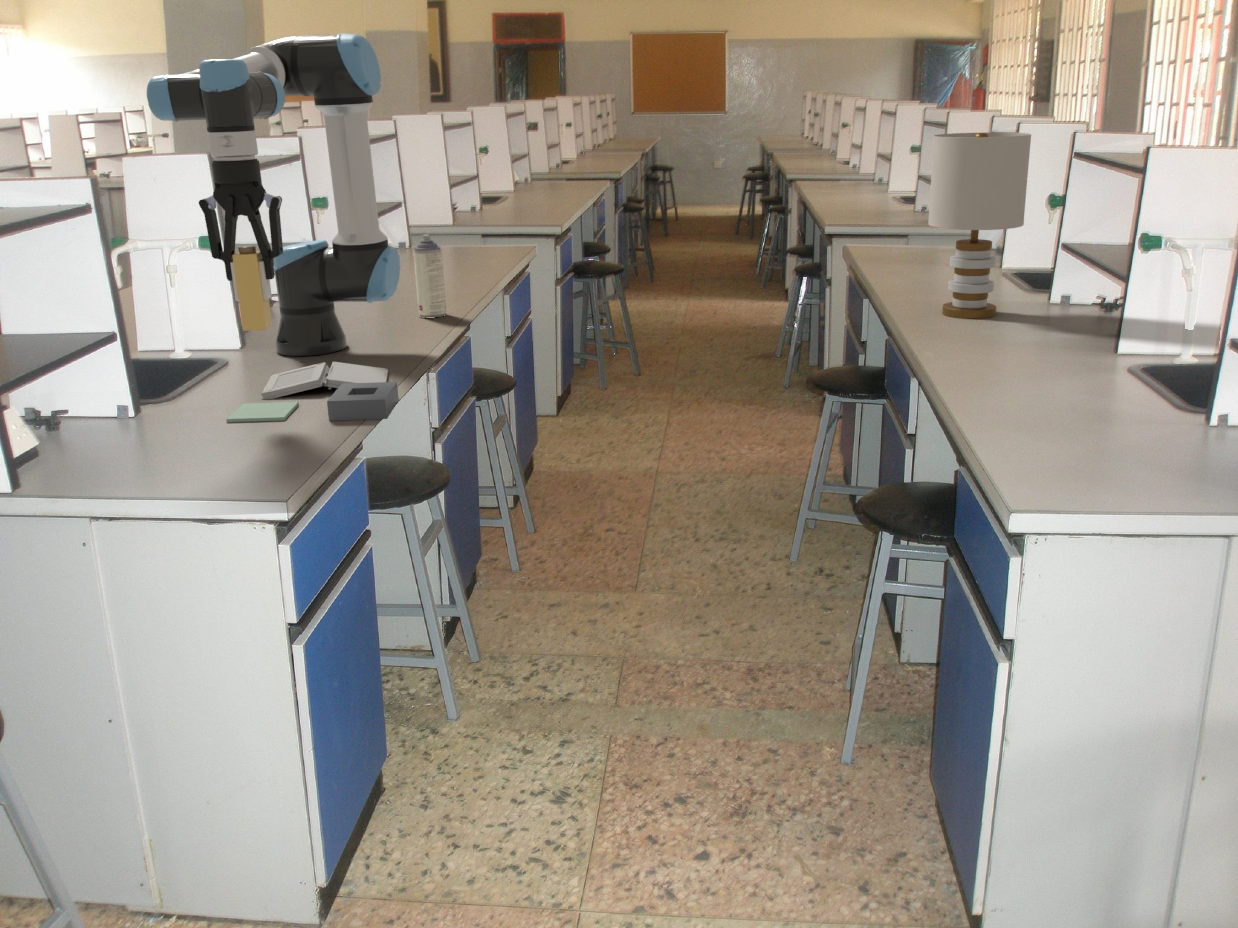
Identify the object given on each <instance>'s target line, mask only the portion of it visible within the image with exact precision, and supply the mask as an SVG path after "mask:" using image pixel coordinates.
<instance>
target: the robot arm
mask: <svg viewBox="0 0 1238 928" xmlns="http://www.w3.org/2000/svg"><path fill="white" fill-rule="evenodd" d="M381 77H382V75H381V69H380V64H379V61H378V58H377V55H376V52H375V50H374V48H373V47H372V45H371V43H370V41H369V40H368V39H367V38H366V37H364V36H363V35H361V34H355V33H343V32H341V33H334V34H329V33H328V34H314V35H312V34H311V35H310V34H309V35H289V36H285V37H282V38H281V37H280V38H278V39H277V38H276V39H274V40H271V41H268V42H265V43H262V44H259V45H257V46H253V47H250V48H248V49H246V50H245V51H244V52H243V54H241V56H239V57H235V58H232V59H231V58H230V59H228V58H226V59H224V58H223V59H222V58H221V59H203V60H202V61H200V63H199V66H198V69H195V70H192V71H188V72H184V73H180V74H169V73H167V74H165V75H155V76H153V77H152V78H150V80H149V82H148V83H147V86H146V99H147V104H148V108H149V110H150V112H151V114H153V116H154V117H155V118H156V119H158V120H160V121H165V122H167V121H171V122H172V121H174V122H179V121H203V120H204V121H205V122H206V123H205V124H206V130H207V131H206V133H207V139H208V146H209V153H210V156H211V158H214V160H212V162H211V168H212V175H213V183H214V190H213V193H212V195H211V196H209V197H207V198H205V197H204V198H203V199H200V200H198V205H199V207H200V209H201V211H202V213H203V215H204V219H205V226H206V230H207V236H208V242H209V246H210V247H209V249H210V253H211V257H212V259H217V260H220V261H222V262H223V263H224V267H225V269H224V270H225V275H226V279H227V281H231V282H232V285H233V291H234V292H233V293H234V298H235V302H239V299H238V292H237V285H236V277H235V270H234V263H233V256H232V255H233V254H235V253H236V252H235V251H236V240H237V222H238V219H239V217H240V216H244V217H247V220H248V222H249V223H250V226H251V229H252V232H253V234H254V237H255V240H256V243H257V246H258V249H259V250H258V251H260V253H261V256H262V260H261V261H259V269H260V277H261V284H262V292H263V299H264V300H268V299H269V300H270V299H271V298H273V296H272V287H271V281H270V280H273V279H274V278H275V284H276V290H277V291H276V292H277V299H278V306H279V313H280V314H279V315H280V318H279V323H278V327H277V332H276V333H277V334H276V337H275V348H276V349H275V350H276V353H277V354H279V355H284V356H292V357H294V356H295V357H307V356H318V355H325V354H331V353H334V352H338V351H341V350H343V349H346V348H347V346H348V344H347V337H346V334H345V331H344V329H343V327H342V325H341V323H340V320H339V318H338V316H337V314H336V308H335V303H339V302H340V303H341V302H342V303H343V302H347V303H348V302H349V303H350V302H351V303H354V302H355V303H357V302H359V303H362V302H363V303H365V302H366V303H369V304H371V303H375V302H376V303H377V302H386V301H388V300H391V299H392V297H393V296H394V294H395V293H396V291H397V289H398V284H399V280H400V275H401V274H400V273H401V259H400V255H399V250H398V249H397V248H396V247H394V246H393V245H389V241H388V239H389V237H388V236H387V235H386V234H385V233H384V232H383V231H381V229H380V222H379V213H378V205H377V197H376V196H377V195H376V187H375V178H374V169H373V161H372V158H373V157H372V149H371V142H370V132H369V131H370V130H369V123H368V114H367V113H368V111H369V110H370V109H371V107H372V105H374V104H373V103H374V101H373V96H375V95H377V94H378V93H379V92H380V89H381V81H382V78H381ZM286 96H287V97H289V96H290V97H313V100H314V107H315V108H316V109H318V110H319V111H320V112H321V113H322V115H323V120H324V127H325V135H326V145H327V150H328V159H329V160H328V161H329V168H330V176H331V184H332V186H331V187H332V192H333V200H334V209H335V216H336V217H335V218H336V224H337V234H336V235H335V236H334V237H333V238H332V240H331V245H332V246H330V247H329V243H328V241H327V240H326V239H320V240H319V239H318V240H317V239H316V240H311V241H310V240H309V241H304V242H300V243H298V242H297V243H294V244H289V245H286V246H284V245H283V235H282V222H281V214H280V213H281V211H280V210H281V206H282V202H283V198H282V196H281V195H277V196H275V195H273V194H270V193H268V192H267V191H266V189H265V188H264V186H263V183H262V174H261V173H262V172H261V166H260V160H258V158H256V157H255V156H258V154H259V149H258V143H257V135H256V130H255V122H254V120H255V119H256V120H257V119H259V120H261V119H264V120H267V119H269V118H272V117H274V116H277V115H278V114H279V113H281V112H282V110H283V108H284V106H285V103H286ZM264 201H265V204H266V205H265V206H266V207H267V208H268V220H269V230H270V240H271V241H270V242H271V243H270V242H269V239H268V236H267V232H266V230H265V227H264V224H263V221H262V215H261V213H260V212H261V211H260V208H261V206H262V204H263V203H264ZM217 203H218V205H219V206H220V207H221V209H223V210H224V221H225V222H224V224H225V225H224V238H223V245H222V238H221V233H220V227H219V221H218V216H217V212H216V209H217ZM270 244H271V245H270Z"/></svg>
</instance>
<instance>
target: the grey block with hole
mask: <svg viewBox="0 0 1238 928" xmlns="http://www.w3.org/2000/svg"><path fill="white" fill-rule="evenodd" d="M399 400H400V398H399V387H398V381H386V382H375V383H344V384H341V385H340V387H339V388H336V389H335V391H334V392H333V393H332V394H331V396H330V397H329V398H328V399H327V400H326V404H327V413H328V421H333V422H334V421H360V420H361V421H362V420H388V418H389V417H390V415H391V414H392V412H393V411H394V409H395V407H396V405H397V404H398V402H399Z"/></svg>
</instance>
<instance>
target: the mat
mask: <svg viewBox="0 0 1238 928" xmlns="http://www.w3.org/2000/svg"><path fill="white" fill-rule="evenodd" d="M299 405H300V404H299V401H288V402H287V401H285V402H284V401H281V402H280V401H279V402H252V403H251V402H250V403H247V402H246V403H242V404H241V405H240V406H238V408H237V409H236V410H234V411H233V412H232V413H231V414H230V415H229V416H228V417H227V418H226V419H225V420H226V423H247V422H248V423H249V422H250V423H252V422H278V421H279V422H281V421H282V422H283V421H286V420H287V418H288V417H289V416H290V415H291V414H292V413H293V412H294V411H295V410H296V409H297V408H298V406H299Z"/></svg>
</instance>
